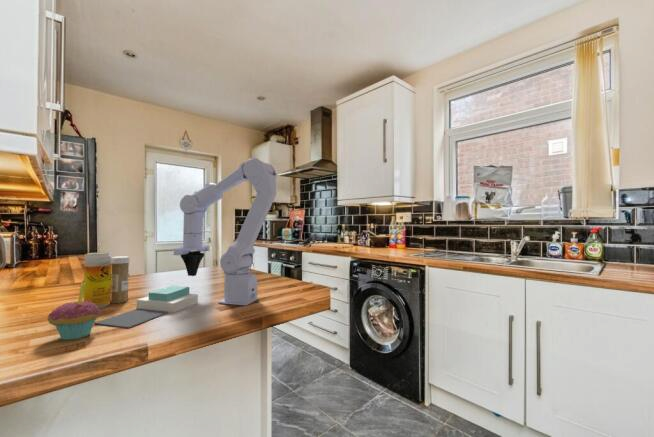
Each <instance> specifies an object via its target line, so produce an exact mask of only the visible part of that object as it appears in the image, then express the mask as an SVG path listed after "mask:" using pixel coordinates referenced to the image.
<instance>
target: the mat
mask: <svg viewBox="0 0 654 437" xmlns="http://www.w3.org/2000/svg"><path fill="white" fill-rule="evenodd" d="M169 313H170V312H166V311H156V310H147V309H132V310H129V311H126V312H123V313H120V314H117V315H114V316H111V317H108V318H105V319H102V320H99V321H95V322H94V324H93V325H99V326H104V327H105V326H108V327H114V328H122V329H131V328H134V327H136V326H139V325H141V324H144V323H146V322H149V321H151V320H154V319H158V318H159V317H162V316H164V315H167V314H169Z"/></svg>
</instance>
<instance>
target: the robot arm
mask: <svg viewBox="0 0 654 437" xmlns="http://www.w3.org/2000/svg"><path fill="white" fill-rule="evenodd" d="M277 177H278V173H277V172H276V170H275V168H274V166H273V165H272V164H270V163H267V162H264V161H262V160H260V159H259V158H257V157H250V158H248V159H246V160H245V161H244V162H241V163H240V164H239V166H238V167H237V168H236V169H234V170H233V171H232V172H230V173H229V174H228V175H226V176H225V177H224V178H223V179H221V180H219V181H218V182H217V183H214V182H210V183H209V182H207V183H206V184H205V183H204V187H203V188H201V189H199V190H198V191H194V192H193V194H185V195H184V196H183V197H182V198H181V199H180V202H179V207H180V210H181V212H182V213H183V231H182V233H183V235H182V236H183V238H182V239H183V240H182V246H180V247H177V248H173V256H180V258H181V259H182V261H183V263H184V266H185V269H186V273H187V276H188V277H189V276H190V277H195V276H197V273H198V270H199V267H200V264H201V262H202V260H203V258H204V257H205V253H204V252H209V251H210V245H207V244H203V237H204V236H203V235H204V234H203V232H204V218H205V213H206V212H207V210H208V208H209V207H210V206H211V205H213V204H215V203H217V202H219V201H220V200H222V199H223V197H224V193H225V192H228V191H229V190H231V189H232V188H234V187H237V186H238V185H239V184H242V183H243V182H250V183H251V185H253V188H254V190H255V194H256V195H255V197H254V199H253V201H252V203H251V206H250V208H249V210H248V213H247V215H246V217H245V219H244V222H243V224H242V227H241V228H240V230H239V232H238V235H237V237H236V240H235V241H234V242H233V243H232V244H230V245H229V246H228V249H227V250H226V251H225V253H223V255H221V258H220V260H219V264H220V268H221V269H222V271H223V275H224V296H223V298H222V299H220V300H218V301H217V303H218V304H224V305H226V304H227V305H235V306H249V305H250V304H252V303H254V302H255V301H257V300H258V299H259V297H258V276H257V274H255V273H251V272H250V268H251V266H252V265H253V264H254V254H255V252H256V249H255V247H254V245H255V242H256V241H257V238H258V237H259V235H260V234H259V233H260V232H261V230H262V227H263V225H264V223H265V221H266V218H267V216H268V214H269V212H270V211H271V210H270V209H271V207H272V204H273V203H274V201H275V199H276V197H277V180H276V179H277Z"/></svg>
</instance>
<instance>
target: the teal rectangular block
mask: <svg viewBox="0 0 654 437" xmlns="http://www.w3.org/2000/svg"><path fill="white" fill-rule="evenodd" d="M187 294H190V286H179V285H171V286H168V287H165V288H161V289H157V290H153V291H150V292H148V296H149V300H157V301H170V300H173V299H176V298H178V297H181V296H184V295H187Z"/></svg>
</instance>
